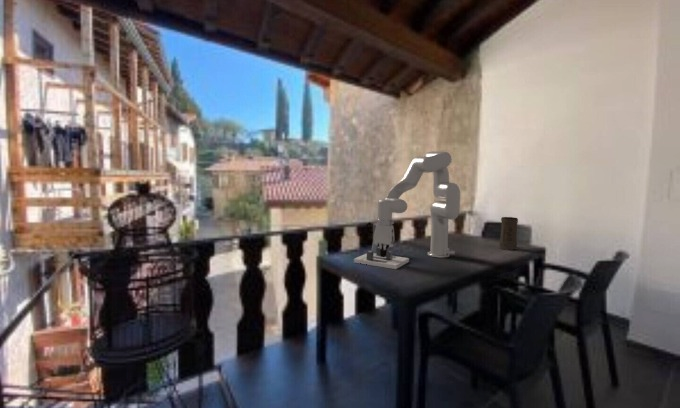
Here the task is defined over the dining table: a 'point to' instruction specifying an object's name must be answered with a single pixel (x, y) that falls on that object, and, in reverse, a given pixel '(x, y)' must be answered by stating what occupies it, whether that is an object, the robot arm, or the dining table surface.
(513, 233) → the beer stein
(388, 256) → the block
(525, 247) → the dining table surface
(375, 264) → the panel
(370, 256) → the breaker
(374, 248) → the moka pot
